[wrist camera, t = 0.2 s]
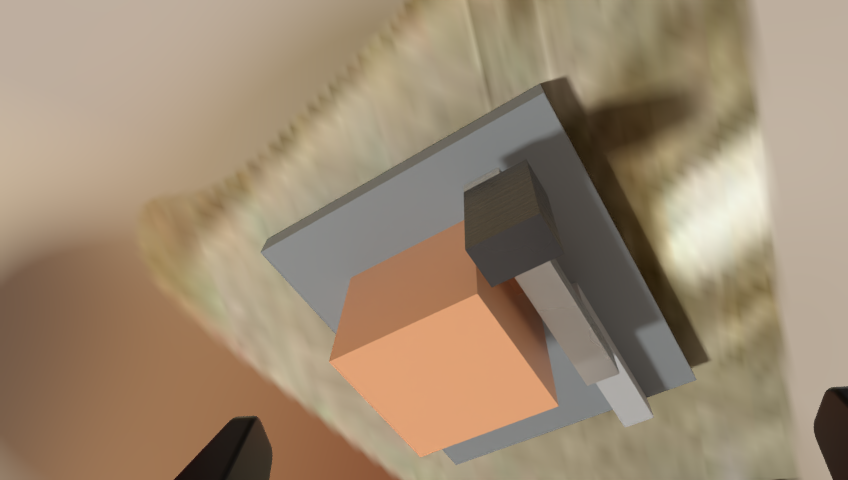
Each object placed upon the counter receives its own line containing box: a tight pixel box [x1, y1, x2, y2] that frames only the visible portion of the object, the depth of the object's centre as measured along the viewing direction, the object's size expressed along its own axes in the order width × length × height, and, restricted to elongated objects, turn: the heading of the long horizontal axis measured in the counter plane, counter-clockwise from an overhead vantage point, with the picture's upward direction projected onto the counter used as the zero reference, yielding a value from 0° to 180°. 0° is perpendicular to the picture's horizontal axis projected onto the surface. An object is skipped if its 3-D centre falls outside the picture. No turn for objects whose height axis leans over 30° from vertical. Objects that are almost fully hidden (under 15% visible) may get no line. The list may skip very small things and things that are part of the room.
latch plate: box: [261, 84, 696, 465], centre depth 25 cm, size 16×13×2 cm
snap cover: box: [329, 220, 559, 457], centre depth 22 cm, size 6×8×5 cm
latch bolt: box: [463, 159, 620, 386], centre depth 20 cm, size 10×2×4 cm, turn 32°
